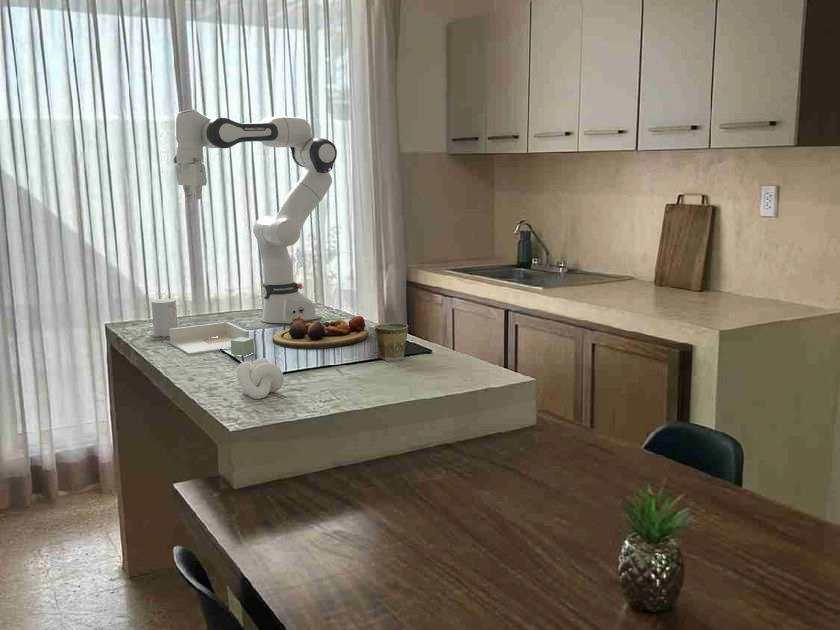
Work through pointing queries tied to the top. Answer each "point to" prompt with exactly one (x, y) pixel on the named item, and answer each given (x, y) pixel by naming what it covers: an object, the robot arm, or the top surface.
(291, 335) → the wooden plate with food
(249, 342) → the cube
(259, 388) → the white knot sculpture
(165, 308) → the cup
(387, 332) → the ceramic cup
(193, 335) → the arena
